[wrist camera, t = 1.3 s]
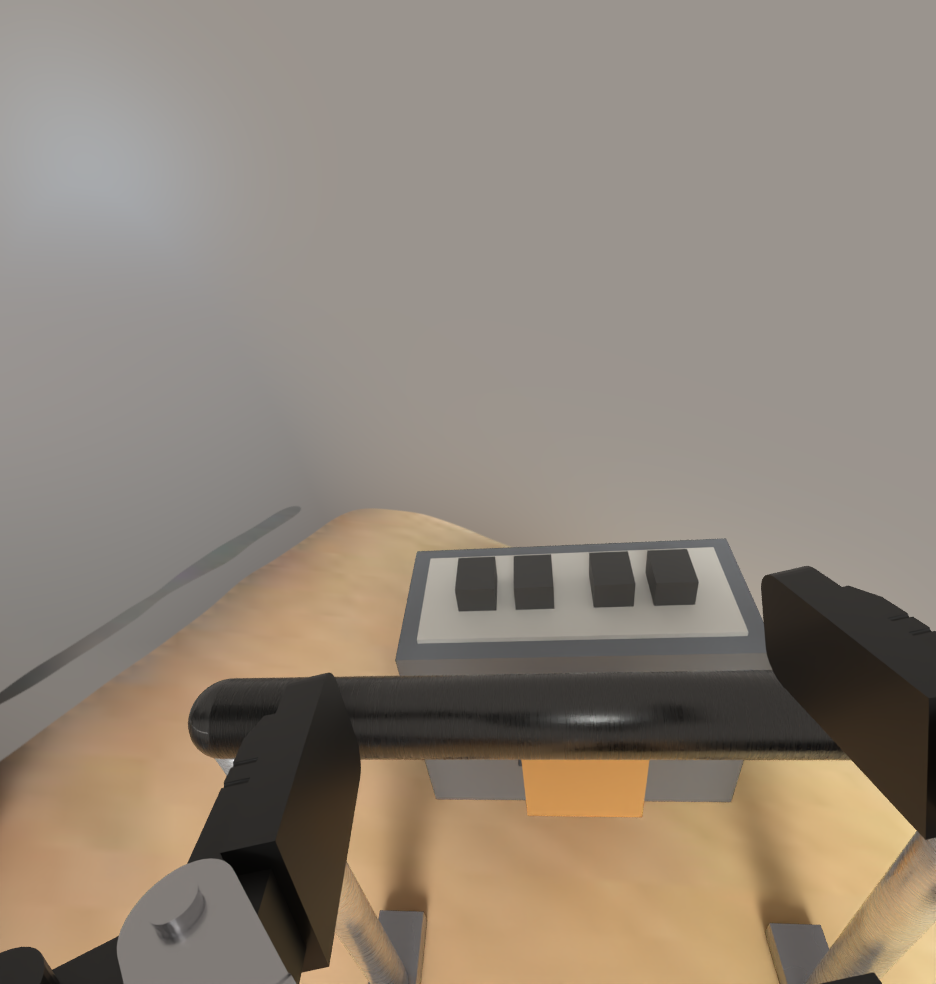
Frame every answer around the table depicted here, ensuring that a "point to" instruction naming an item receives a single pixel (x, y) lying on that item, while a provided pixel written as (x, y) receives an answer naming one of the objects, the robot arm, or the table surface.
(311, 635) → the table surface
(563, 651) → the box
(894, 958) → the cord gate
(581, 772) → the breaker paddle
